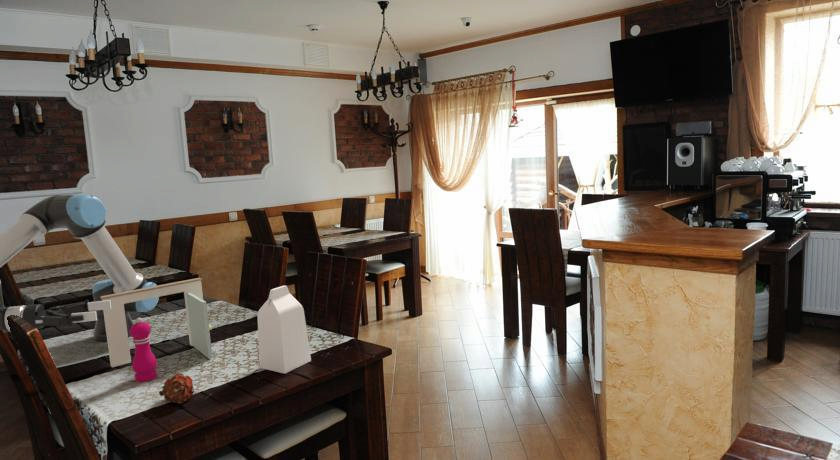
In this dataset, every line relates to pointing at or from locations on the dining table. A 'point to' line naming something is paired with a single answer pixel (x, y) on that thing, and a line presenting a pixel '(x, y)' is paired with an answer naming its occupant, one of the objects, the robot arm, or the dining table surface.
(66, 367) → the dining table surface
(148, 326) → the pepper mill
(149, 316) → the dining table surface
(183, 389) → the dragon fruit
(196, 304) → the door
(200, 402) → the dining table surface
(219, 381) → the dining table surface
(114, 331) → the door frame
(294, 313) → the milk
